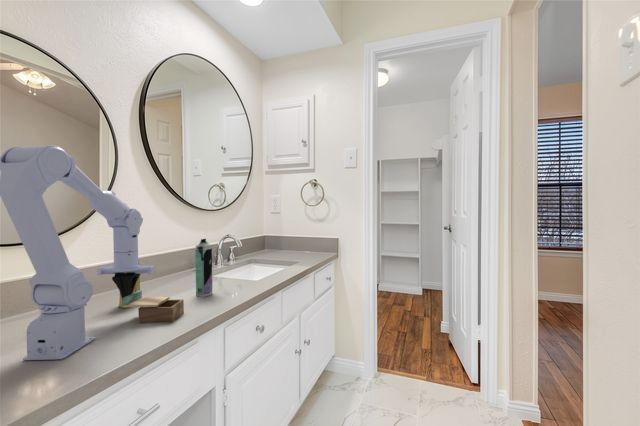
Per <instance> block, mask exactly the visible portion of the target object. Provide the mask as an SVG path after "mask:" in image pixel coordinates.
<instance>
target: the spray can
mask: <svg viewBox="0 0 640 426" xmlns="http://www.w3.org/2000/svg"><path fill="white" fill-rule="evenodd" d="M194 249H195V250H194V251H195V254H194V255H195V256H194V257H195V296H196V297H199V298H200V297H203V298H204V297H210V296H212V295H213V247H212V244H210V243H209V242H208V240H207V238H202V239H201V238H200V241H199V243H198V244H196V245H195V248H194Z"/></svg>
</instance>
